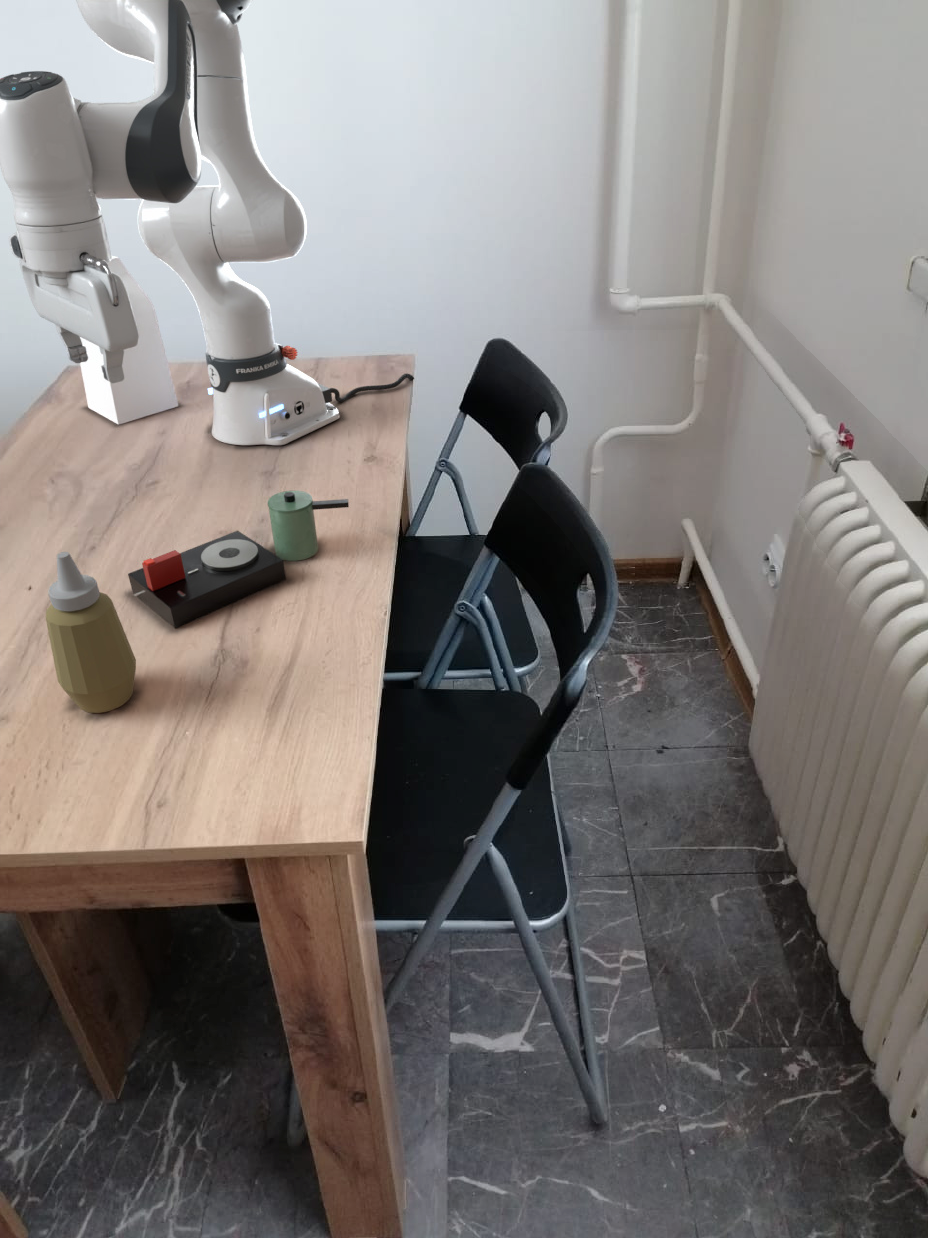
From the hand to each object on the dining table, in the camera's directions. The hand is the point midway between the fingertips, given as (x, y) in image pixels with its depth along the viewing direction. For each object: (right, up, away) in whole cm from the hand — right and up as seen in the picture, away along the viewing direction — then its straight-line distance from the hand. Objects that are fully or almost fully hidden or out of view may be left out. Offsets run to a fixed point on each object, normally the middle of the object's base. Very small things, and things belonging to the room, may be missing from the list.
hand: (96, 370), depth 110 cm
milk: (-18, +10, +63) cm, 67 cm away
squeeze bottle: (+4, -38, -7) cm, 38 cm away
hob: (+10, -25, +11) cm, 29 cm away
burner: (+13, -21, +12) cm, 27 cm away
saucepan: (+22, -19, +19) cm, 35 cm away
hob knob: (+6, -25, +7) cm, 26 cm away
